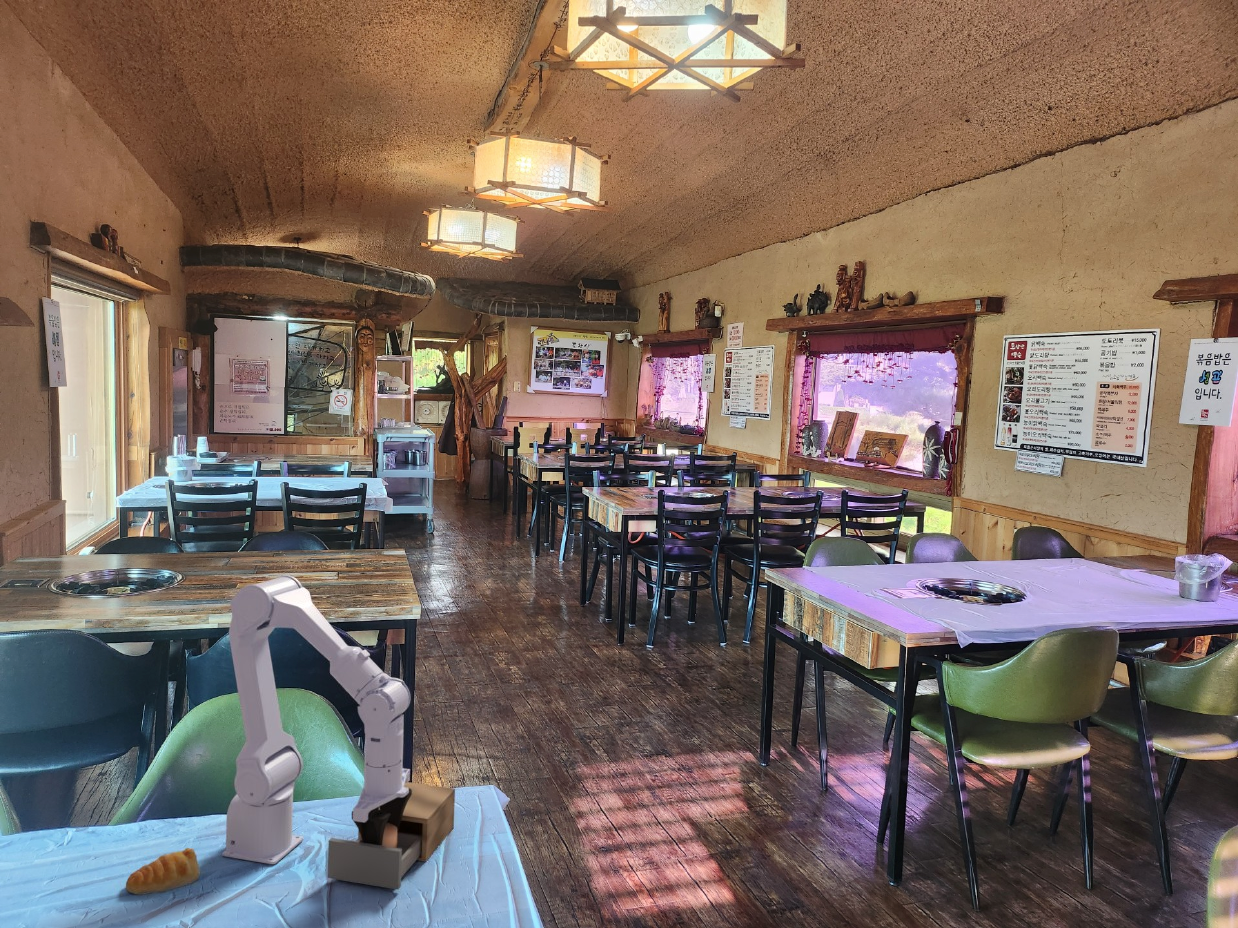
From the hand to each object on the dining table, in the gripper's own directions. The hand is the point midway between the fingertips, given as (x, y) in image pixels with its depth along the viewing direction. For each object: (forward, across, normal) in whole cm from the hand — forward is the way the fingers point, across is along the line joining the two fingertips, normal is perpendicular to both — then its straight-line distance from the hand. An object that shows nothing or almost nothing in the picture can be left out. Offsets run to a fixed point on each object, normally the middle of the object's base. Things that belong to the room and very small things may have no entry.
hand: (381, 844), depth 124 cm
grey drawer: (+3, 0, 0) cm, 3 cm away
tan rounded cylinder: (+2, 0, 0) cm, 2 cm away
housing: (+4, +9, 0) cm, 10 cm away
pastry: (+4, -11, +29) cm, 31 cm away
